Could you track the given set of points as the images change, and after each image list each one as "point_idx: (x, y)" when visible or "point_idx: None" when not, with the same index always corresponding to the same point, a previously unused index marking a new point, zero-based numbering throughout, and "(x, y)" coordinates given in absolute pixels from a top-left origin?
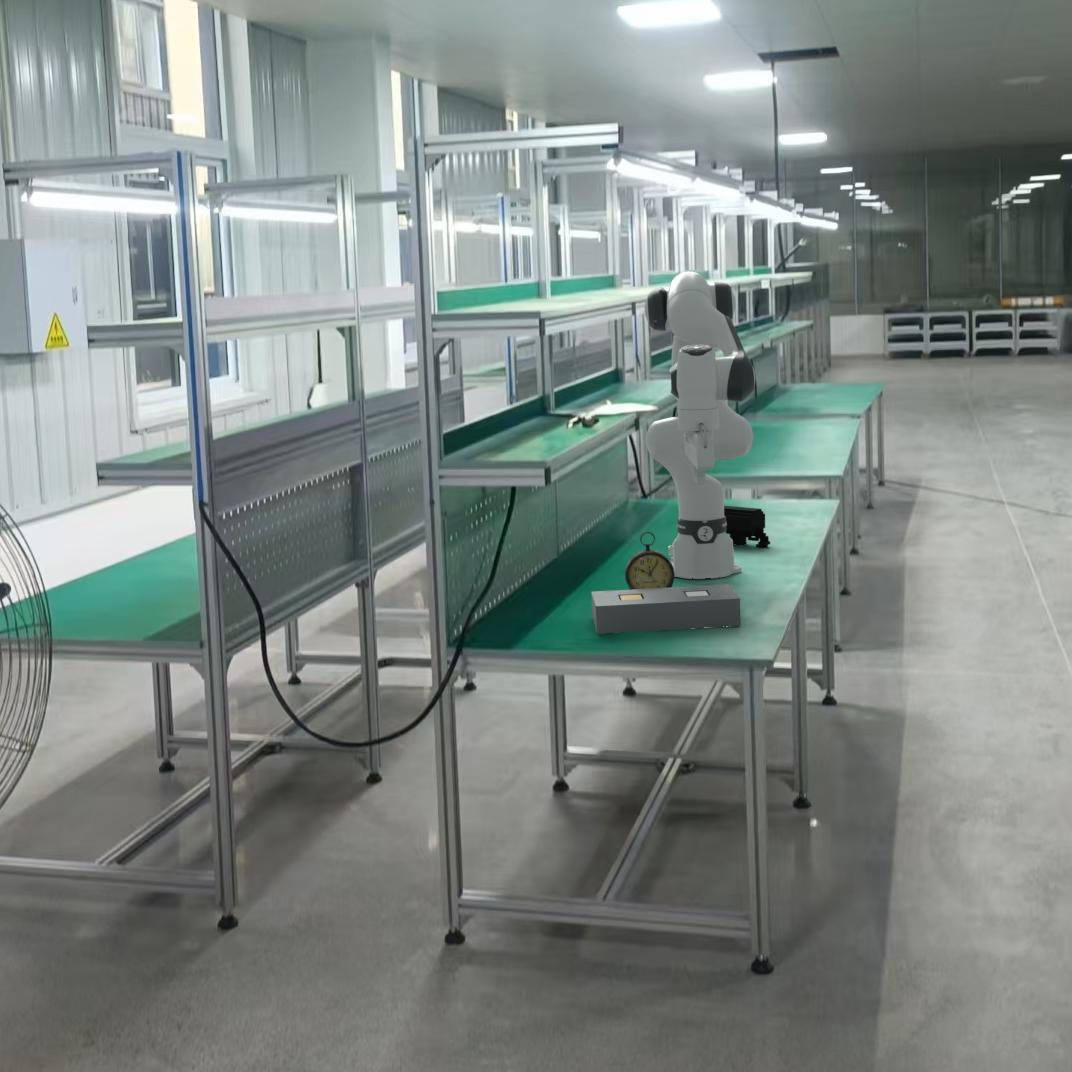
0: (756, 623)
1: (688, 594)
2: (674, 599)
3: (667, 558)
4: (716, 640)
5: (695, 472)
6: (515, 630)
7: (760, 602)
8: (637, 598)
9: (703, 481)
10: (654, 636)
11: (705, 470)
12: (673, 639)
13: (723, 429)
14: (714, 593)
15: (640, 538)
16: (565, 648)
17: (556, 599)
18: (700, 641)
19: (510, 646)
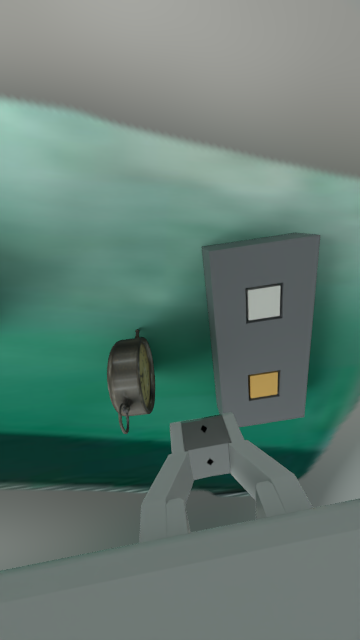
0: (282, 207)
1: (266, 315)
2: (296, 333)
3: (137, 365)
4: (354, 267)
5: (188, 495)
6: None
7: (145, 192)
8: (272, 377)
9: (236, 425)
10: (312, 338)
11: (289, 472)
12: (332, 317)
13: None
14: (272, 276)
15: (128, 429)
16: (332, 413)
17: (120, 446)
18: (352, 287)
19: (309, 452)
